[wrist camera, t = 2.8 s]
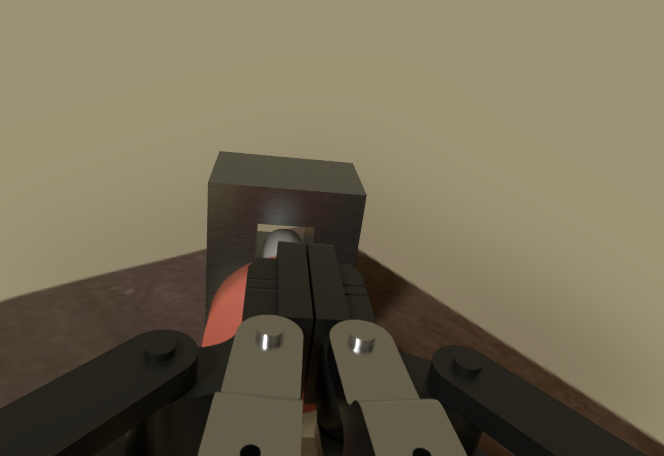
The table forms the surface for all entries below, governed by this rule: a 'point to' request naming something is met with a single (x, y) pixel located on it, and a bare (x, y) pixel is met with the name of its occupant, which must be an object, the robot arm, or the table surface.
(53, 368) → the table surface
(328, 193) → the grey box with base
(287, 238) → the red round knob
